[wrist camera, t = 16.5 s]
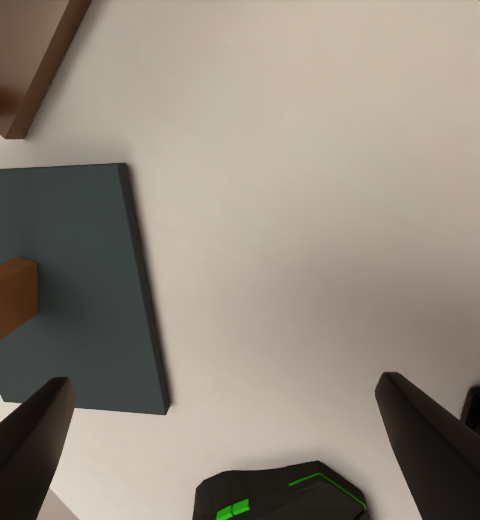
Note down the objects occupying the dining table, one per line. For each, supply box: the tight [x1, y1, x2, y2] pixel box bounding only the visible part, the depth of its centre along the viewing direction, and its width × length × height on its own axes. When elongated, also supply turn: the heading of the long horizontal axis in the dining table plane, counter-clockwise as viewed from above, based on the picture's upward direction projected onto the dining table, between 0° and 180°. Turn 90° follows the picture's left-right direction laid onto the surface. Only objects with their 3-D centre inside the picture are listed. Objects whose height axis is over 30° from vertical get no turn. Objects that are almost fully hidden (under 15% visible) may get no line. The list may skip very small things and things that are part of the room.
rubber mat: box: [0, 163, 170, 415], centre depth 20 cm, size 18×14×1 cm
